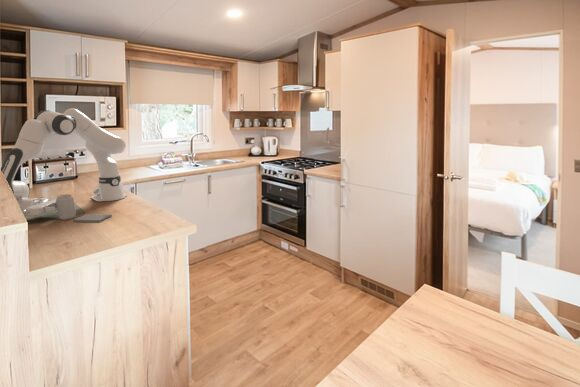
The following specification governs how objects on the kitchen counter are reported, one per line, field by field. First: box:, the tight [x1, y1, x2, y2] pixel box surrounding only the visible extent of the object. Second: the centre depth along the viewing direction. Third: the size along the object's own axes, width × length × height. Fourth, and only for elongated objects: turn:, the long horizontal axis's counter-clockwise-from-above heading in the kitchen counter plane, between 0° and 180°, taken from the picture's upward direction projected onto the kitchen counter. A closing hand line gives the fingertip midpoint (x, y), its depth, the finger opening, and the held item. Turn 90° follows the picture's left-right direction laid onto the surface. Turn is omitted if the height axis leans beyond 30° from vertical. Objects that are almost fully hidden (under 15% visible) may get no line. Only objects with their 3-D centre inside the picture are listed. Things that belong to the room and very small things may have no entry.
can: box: [56, 193, 77, 221], centre depth 181 cm, size 8×8×12 cm
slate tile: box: [72, 213, 113, 223], centre depth 179 cm, size 14×10×1 cm
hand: (61, 206), depth 181 cm, fingers open, 8 cm apart
